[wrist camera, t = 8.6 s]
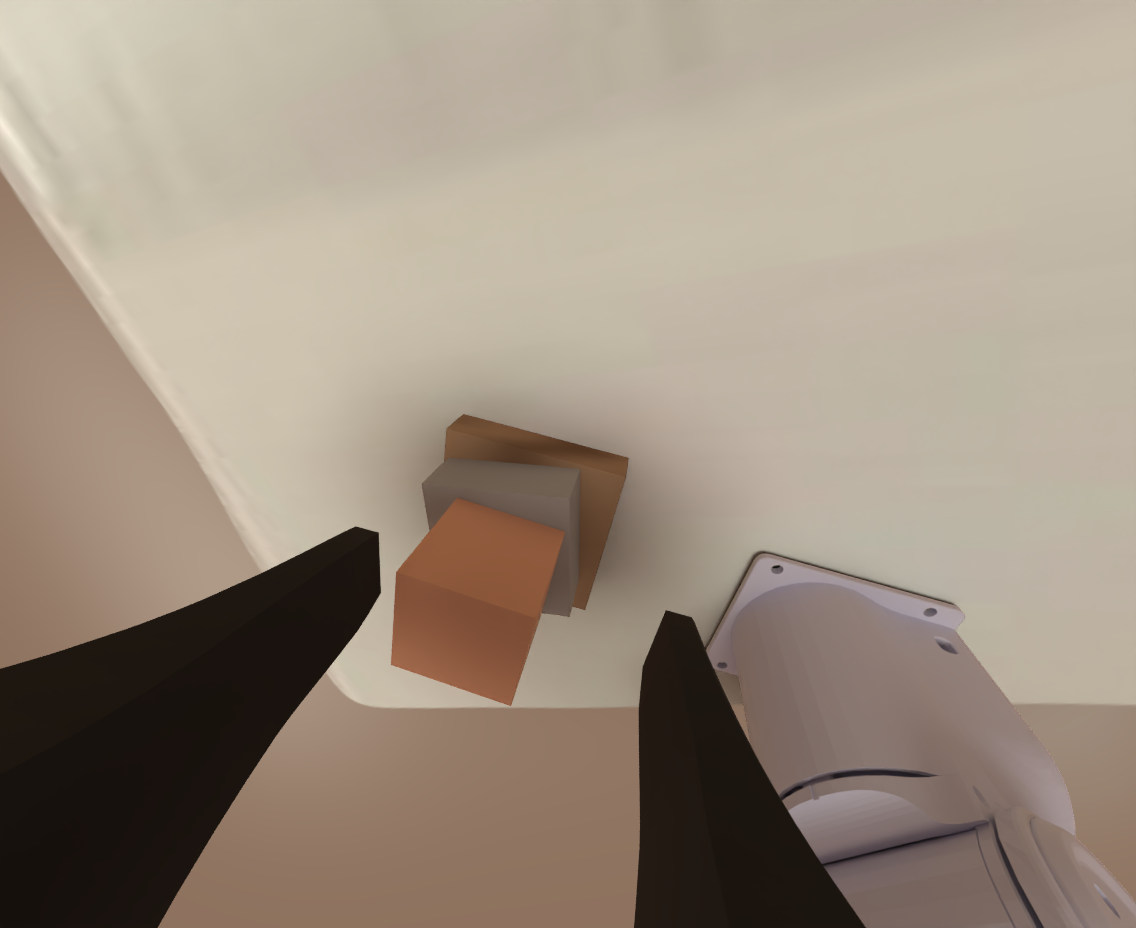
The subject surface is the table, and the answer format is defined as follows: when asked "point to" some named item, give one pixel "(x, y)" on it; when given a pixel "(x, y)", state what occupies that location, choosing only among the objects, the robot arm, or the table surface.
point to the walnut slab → (596, 467)
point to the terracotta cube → (474, 599)
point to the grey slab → (518, 508)
